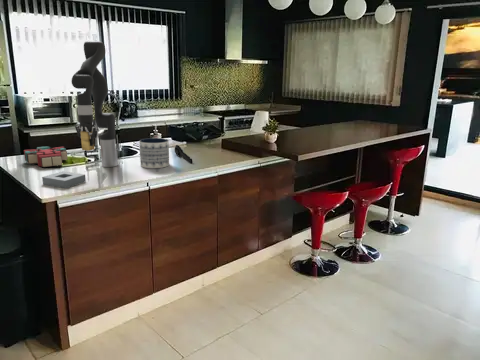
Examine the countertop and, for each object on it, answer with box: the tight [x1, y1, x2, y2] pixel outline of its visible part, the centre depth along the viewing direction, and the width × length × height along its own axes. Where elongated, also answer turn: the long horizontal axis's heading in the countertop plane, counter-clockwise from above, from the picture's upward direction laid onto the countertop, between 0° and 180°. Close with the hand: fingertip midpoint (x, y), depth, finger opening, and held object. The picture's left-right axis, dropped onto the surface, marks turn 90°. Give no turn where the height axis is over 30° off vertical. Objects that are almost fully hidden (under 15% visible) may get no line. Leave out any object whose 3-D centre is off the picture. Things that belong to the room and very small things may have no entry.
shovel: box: [174, 144, 194, 164], centre depth 274 cm, size 35×4×8 cm, turn 27°
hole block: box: [41, 170, 87, 189], centre depth 210 cm, size 14×16×4 cm
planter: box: [138, 137, 170, 169], centre depth 251 cm, size 18×18×16 cm
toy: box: [23, 146, 68, 168], centre depth 253 cm, size 24×9×30 cm
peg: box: [80, 131, 96, 151], centre depth 211 cm, size 4×4×10 cm
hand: (88, 145), depth 212 cm, fingers closed on peg, 4 cm apart
